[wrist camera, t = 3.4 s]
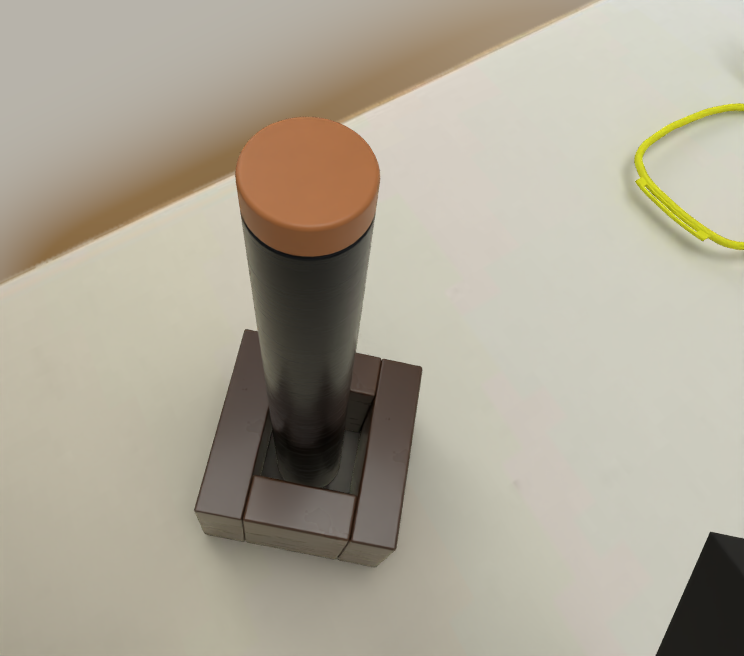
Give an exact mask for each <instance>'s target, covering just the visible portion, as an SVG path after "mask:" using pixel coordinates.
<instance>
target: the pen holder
mask: <svg viewBox="0 0 744 656" xmlns="http://www.w3.org/2000/svg"><path fill="white" fill-rule="evenodd" d="M421 376H422V367H420V366H415V365H411V364H406V363H401V362H397V361H392V360H387V359H382V361H381V358H379V357H374V356H369V355H364V354H360V353H356V354H355V361H354V368H353V376H352V383H351V390H350V397H349V404H348V411H347V418H346V425H345V430H350V431H355V432H360V436H359V442H358V447H357V453H356V458H355V464H354V469H353V475H352V480H351V486H350V491H349V493H344V492H339V491H334V490H329V489H324V488H319V487H314V486H309V485H304V484H299V483H294V482H289V481H284V480H279V479H274V478H269V477H264V476H261V473H262V469H263V465H264V460H265V456H266V452H267V448H268V444H269V440H270V436H271V432H272V424H271V417H270V410H269V403H268V396H267V390H266V383H265V376H264V369H263V362H262V355H261V349H260V342H259V335H258V332H257V331H252V330H247V329H245V331H244V334H243V338H242V341H241V345H240V348H239V352H238V355H237V359H236V363H235V366H234V370H233V373H232V377H231V380H230V384H229V387H228V391H227V395H226V398H225V402H224V405H223V409H222V412H221V416H220V420H219V423H218V427H217V430H216V434H215V437H214V441H213V445H212V448H211V452H210V455H209V459H208V462H207V466H206V469H205V473H204V477H203V480H202V484H201V487H200V491H199V494H198V498H197V502H196V505H195V509H194V511H195V513H196V516H197V518H198V520H199V522H200V524H201V527H202V529H203V531H204V533H205V534H207V535H212V536H217V537H222V538H227V539H233V540H238V541H245V539H246V542H249V543H254V544H259V545H264V546H269V547H274V548H279V549H284V550H290V551H295V552H300V553H305V554H310V555H315V556H320V557H325V558H330V559H337V557H338V560H341V561H346V562H351V563H356V564H361V565H366V566H371V567H377V566H378V565H379V564H380V563H381V562H382V561H384V560H385V559H386V558H387V557H388V556H389V555H391V554H392V553H393V552H394V551H395V550H396V548H397V541H398V534H399V527H400V521H401V514H402V507H403V500H404V493H405V486H406V479H407V472H408V466H409V459H410V452H411V445H412V438H413V431H414V424H415V417H416V410H417V404H418V397H419V390H420V383H421Z"/></svg>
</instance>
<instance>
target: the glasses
mask: <svg viewBox="0 0 744 656" xmlns="http://www.w3.org/2000/svg"><path fill="white" fill-rule="evenodd" d="M727 111H744V104H740V103H738V104H728V105H721V106H717V107H712V108H708V109H705V110H702V111H699V112H696V113H694V114H692V115H689V116H687V117H685V118H682V119H680V120H678V121H675V122H673V123H671V124H669V125H667V126H666V127H664V128H662V129H661V130H659V131H658V132H656V133H655V134H653V135H652V136H650V137H649V138H648V139H646V140H645V141H644V142H643V143H642V144H641V145H640V146H639V148H638V150H637V152H636V155H635V158H634V163H635V166H636V169H637V172H638V174H639V176H640V179H638V180H636V181H635V182H636V184H637V185H638V186H639V188H640V189H641V190H642V191H643V192H644V193H645V194H646V195H647V196H648V197H649V198H650V199H651V200H652V201H653V202H654V203H655V204H656V205H657V206H658V207H659V208H660V209H661V210H662V211H664V212H665V213H666V214H667V215H668V216H669V217H670V218H671V219H673V220H674V221H675V222H676V223H678V224H679V225H680V226H681V227H683V228H684V229H685V230H687V231H688V232H690V233H691V234H692V235H694V236H695V237H697V238H698V239H700V240H701V241H704V240H705V239H707V238H708V239H710V240H712V241H714V242H716V243H717V244H719V245H722V246H724V247H727V248H732V249H737V250H744V242H736V241H732V240H729V239H726V238H724V237H722V236H720V235H718V234H716V233H715V232H713V231H711V230H710V229H708V228H707V227H705V226H704V225H702V224H701V223H699V222H698V221H697V220H695V219H694V218H693V217H691V216H690V215H689V214H688V213H686V212H685V211H684V210H683V209H681V208H680V207H679V206H678V205H677V204H676V203H675V202H674V201H673V200H671V199H670V198H669V197H668V196H667V195H666V194H665V193H664V192H663V191H662V190H661V189H659V187H658V186H657V185H656V184H655V183H654V182H653V181H652V180H651V178H650V177H649V176H648V174H647V172H646V169H645V167H644V164H643V161H642V158H643V155H644V153H645V151H646V150H647V148H648V147H649V146H651V145H652V144H653V143H655V142H656V141H657V140H659V139H660V138H661V137H663V136H665V135H666V134H668V133H669V132H671V131H673V130H675V129H677V128H679V127H682V126H684V125H686V124H689V123H691V122H693V121H696V120H698V119H700V118H703V117H706V116H709V115H713V114H717V113H722V112H727ZM645 187H646V188H647V189H648V190H649V191H650V192H651V193H652V194H653V195H654V196H655V197H656V198H657V199H658V200H659V201H661V202H662V203H663V204H664V205H665V206H666V207H667V208H668V209H669V210H670V211H671V212H670V211H669V210H668V209H667V208H666V207H665V206H664V205H663V204H662V203H660V202H659V201H658V200H657V199H656V198H655V197H654V196H653V195H652V194H651V193H650V192H649V191H648V190H647V189H646V188H645ZM674 214H675V215H676V216H677V217H678V218H680V219H681V220H682V221H683V222H685V223H686V224H687V225H689V226H690V227H691V228H693V229H694V230H695V231H697V232H695V231H694V230H693V229H691V228H690V227H689V226H687V225H686V224H685V223H683V222H682V221H681V220H679V219H678V218H677V217H676V216H675V215H674Z"/></svg>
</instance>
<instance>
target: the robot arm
mask: <svg viewBox="0 0 744 656" xmlns="http://www.w3.org/2000/svg"><path fill="white" fill-rule="evenodd" d="M656 656H744V539H743V538H738V537H733V536H728V535H724V534H719V533H714V532H710V534H709V536H708V538H707V540H706V543H705V545H704V547H703V549H702V552H701V554H700V556H699V559H698V561H697V563H696V565H695V568H694V570H693V572H692V574H691V577H690V579H689V581H688V583H687V586H686V588H685V590H684V593H683V595H682V597H681V599H680V602H679V604H678V606H677V608H676V611H675V613H674V615H673V618H672V620H671V622H670V624H669V627H668V629H667V631H666V633H665V636H664V638H663V640H662V643H661V645H660V647H659V649H658V652H657V654H656Z"/></svg>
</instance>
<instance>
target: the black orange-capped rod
mask: <svg viewBox="0 0 744 656" xmlns="http://www.w3.org/2000/svg"><path fill="white" fill-rule="evenodd" d="M235 177H236V185H237V192H238V199H239V206H240V212H241V219H242V226H243V233H244V240H245V247H246V253H247V260H248V267H249V274H250V281H251V287H252V294H253V301H254V308H255V315H256V321H257V328H258V335H259V342H260V349H261V355H262V362H263V369H264V376H265V383H266V390H267V396H268V403H269V410H270V417H271V424H272V430H273V437H274V444H275V451H276V458H277V464H278V469H279V472H280V474H281V476H282V478H283V479H284V480H285V481H289V482H294V483H299V484H304V485H309V486H314V487H319V488H323V487H325V486H326V485H328V484H329V483H330V482H331V481H332V480H333V479H334V478H335V476H336V474H337V472H338V470H339V467H340V461H341V453H342V446H343V439H344V432H345V425H346V418H347V411H348V404H349V397H350V390H351V383H352V376H353V368H354V361H355V354H356V347H357V340H358V333H359V326H360V319H361V312H362V305H363V298H364V291H365V283H366V276H367V269H368V262H369V255H370V248H371V241H372V234H373V227H374V220H375V212H376V206H377V199H378V191H379V184H380V170H379V165H378V162H377V159H376V157H375V155H374V153H373V151H372V149H371V148H370V146H369V145H368V144H367V142H366V141H365V140H364V139H363V138H362V137H361V136H360V135H358V134H357V133H356V132H354V131H353V130H351V129H350V128H348V127H346V126H344V125H342V124H340V123H337V122H334V121H331V120H327V119H323V118H317V117H295V118H289V119H285V120H281V121H278V122H275V123H273V124H270V125H268V126H266V127H265V128H263V129H261V130H260V131H259V132H257V133H256V134H255V135H254V136H253V137H252V138H251V139H250V140H249V141H248V142H247V144H246V145H245V146H244V148H243V150H242V151H241V153H240V156H239V158H238V160H237V165H236V172H235Z"/></svg>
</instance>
